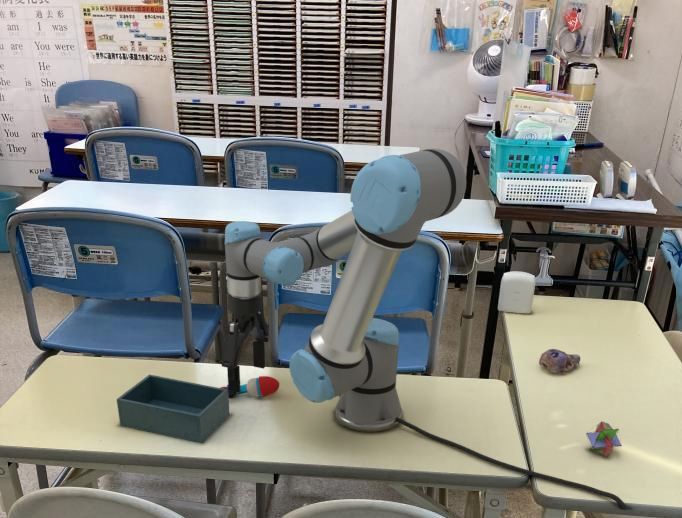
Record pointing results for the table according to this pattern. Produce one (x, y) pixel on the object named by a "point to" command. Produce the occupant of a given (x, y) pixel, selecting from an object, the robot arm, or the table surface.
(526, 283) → the photo printer
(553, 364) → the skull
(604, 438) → the geometric puzzle
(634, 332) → the table surface
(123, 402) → the tote
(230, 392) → the toy figure
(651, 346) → the table surface
